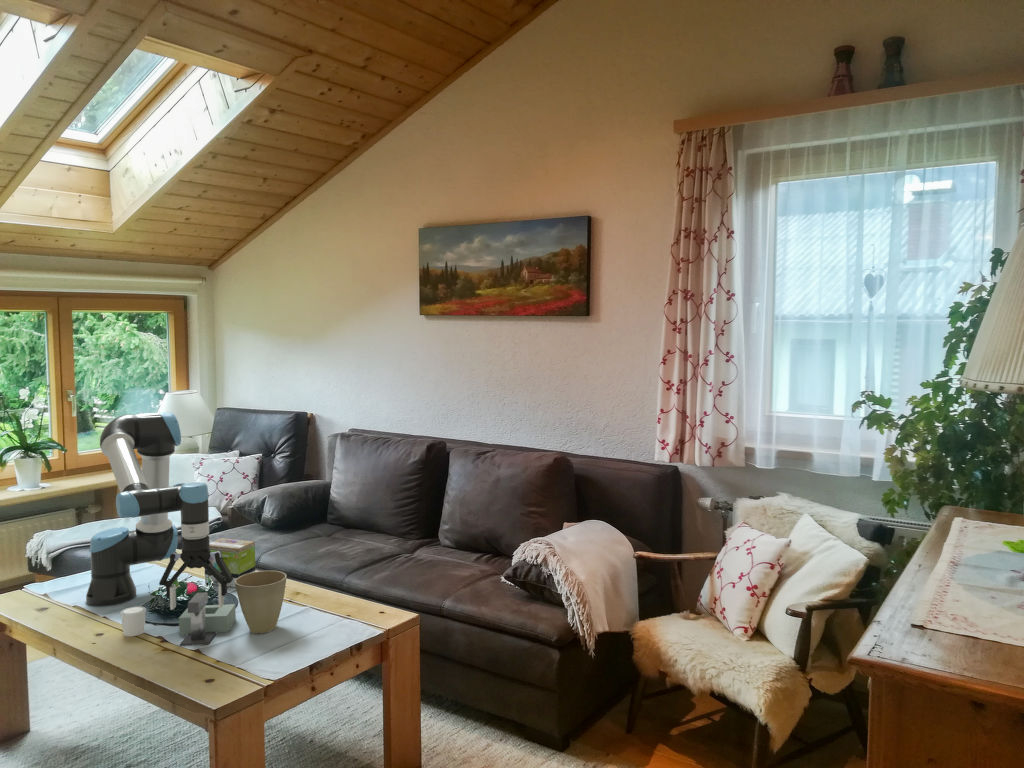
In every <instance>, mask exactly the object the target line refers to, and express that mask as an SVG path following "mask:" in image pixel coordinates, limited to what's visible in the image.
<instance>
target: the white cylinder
mask: <svg viewBox="0 0 1024 768" xmlns="http://www.w3.org/2000/svg"><path fill="white" fill-rule="evenodd" d="M146 613H147V608H146V607H145V606H139V605H138V606H131V607H127V608H124V609H122V610H120V617H121V618H120V619H121V626H122V633H123V636H125V637H136V636H139V635H142V634H143V633H145V628H146V615H147V614H146Z"/></svg>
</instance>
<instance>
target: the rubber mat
mask: <svg viewBox="0 0 1024 768" xmlns="http://www.w3.org/2000/svg"><path fill="white" fill-rule="evenodd" d="M216 635H217V632H205V638H204V639H201V640H191V633H188V634H186V635H185V637H184V638H183V639H182V640H181V642H180V643H179V646H180V647H185V646H186V647H187V646H202V645H203V646H205V645H206V646H207V645H210V644H211V642H212V640H213V639H214V637H215V636H216Z"/></svg>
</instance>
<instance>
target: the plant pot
mask: <svg viewBox="0 0 1024 768" xmlns="http://www.w3.org/2000/svg"><path fill="white" fill-rule="evenodd" d="M286 583H287V573H285V572H283V571H279V570H260V571H259V570H258V571H255V572H252V573H248V574H245V575H242V576H240V577H238V578H237V579H236V580H235V585H236V587H235V589H236V590H235V591H236V594H237V599H238V602H239V605H240V610H241V612H242V615H243V618H244V620H245V622H246V625H247V627H248V630H249V631H250V632H251V633H252V634H267V633H270V632H272V631H274V630H275V629H276V628H277V624H278V621H279V618H280V615H281V611H282V607H283V602H284V597H285V592H286Z"/></svg>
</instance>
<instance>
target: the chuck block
mask: <svg viewBox="0 0 1024 768" xmlns="http://www.w3.org/2000/svg"><path fill="white" fill-rule="evenodd" d="M236 618H237V616H236V603H235V604H234V603H232V604H230V603H229V604H224V605H223V606H222V608H219V604H209V605H208V604H206V605H205V632H216V633H228V632H229V630H230V629H231V628H232V626H233V625H234V622H236V620H237V619H236ZM188 633H191V613H188V607H187V608H186V609H185V610H184V611H183V613H182V614H180V616H179V617H178V635H187V634H188Z"/></svg>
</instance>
